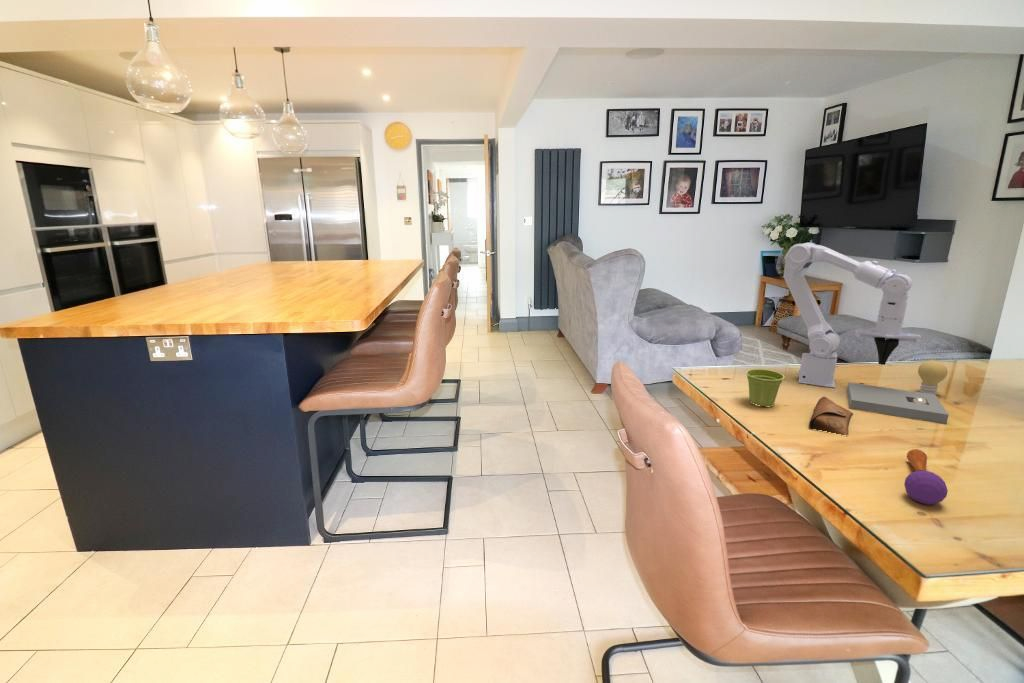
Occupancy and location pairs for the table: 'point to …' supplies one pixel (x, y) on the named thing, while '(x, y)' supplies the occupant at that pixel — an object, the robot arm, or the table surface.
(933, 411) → the hole deck
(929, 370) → the light bulb
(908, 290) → the robot arm
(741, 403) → the table surface
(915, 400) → the steel ball
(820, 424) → the sunglasses case
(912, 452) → the purple maraca
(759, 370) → the plant pot
